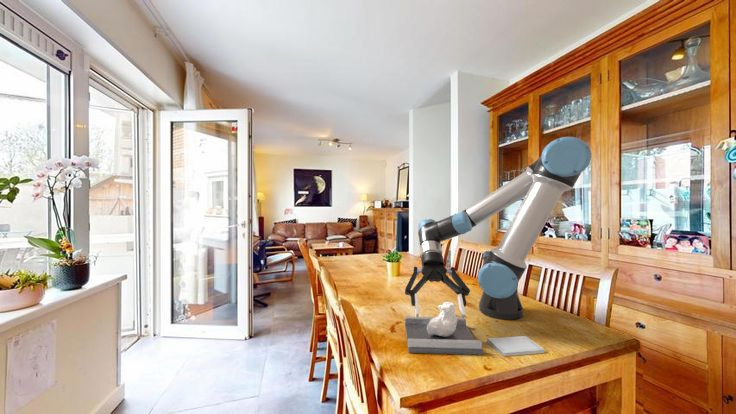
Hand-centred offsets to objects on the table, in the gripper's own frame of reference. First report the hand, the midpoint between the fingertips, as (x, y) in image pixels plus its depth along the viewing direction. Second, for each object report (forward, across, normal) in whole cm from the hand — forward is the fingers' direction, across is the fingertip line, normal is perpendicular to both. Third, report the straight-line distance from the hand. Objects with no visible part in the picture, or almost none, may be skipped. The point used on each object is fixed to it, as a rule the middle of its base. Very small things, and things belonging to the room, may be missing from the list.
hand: (440, 316), depth 81 cm
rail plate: (+4, 0, -7) cm, 8 cm away
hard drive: (+7, -21, -5) cm, 22 cm away
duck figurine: (+3, -2, -6) cm, 7 cm away
